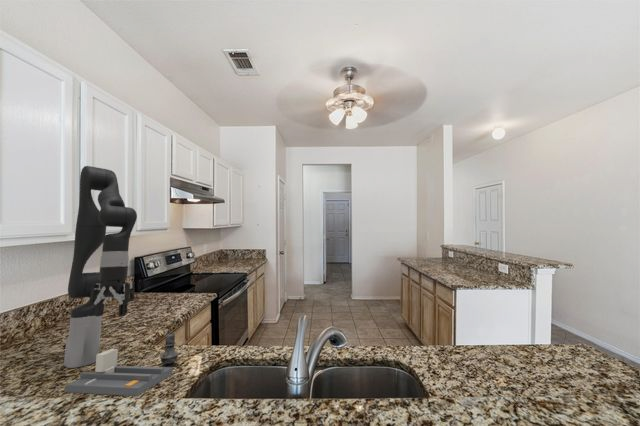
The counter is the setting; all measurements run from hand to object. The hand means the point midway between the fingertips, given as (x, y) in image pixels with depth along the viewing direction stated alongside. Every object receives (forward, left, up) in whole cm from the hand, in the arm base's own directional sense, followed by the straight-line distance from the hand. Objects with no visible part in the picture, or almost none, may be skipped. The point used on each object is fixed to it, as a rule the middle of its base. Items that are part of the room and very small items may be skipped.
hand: (110, 316), depth 88 cm
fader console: (+6, 0, -20) cm, 21 cm away
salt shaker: (+12, +13, -20) cm, 27 cm away
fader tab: (0, 0, -18) cm, 18 cm away
